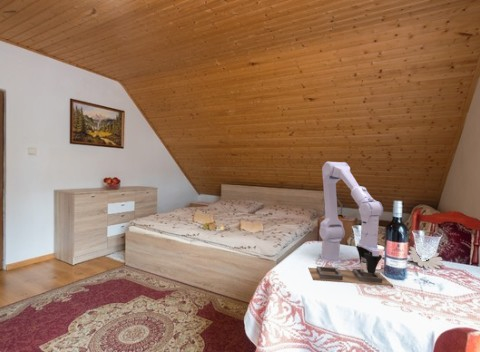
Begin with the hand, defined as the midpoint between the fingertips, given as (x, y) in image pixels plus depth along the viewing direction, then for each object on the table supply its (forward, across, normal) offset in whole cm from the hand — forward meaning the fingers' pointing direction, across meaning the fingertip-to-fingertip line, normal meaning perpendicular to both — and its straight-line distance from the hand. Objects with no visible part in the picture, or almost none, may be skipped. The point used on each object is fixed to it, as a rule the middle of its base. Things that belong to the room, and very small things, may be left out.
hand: (367, 268), depth 104 cm
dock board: (+4, 0, -7) cm, 8 cm away
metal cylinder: (+3, 0, 0) cm, 3 cm away
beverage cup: (+4, -13, +8) cm, 16 cm away
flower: (+4, -23, +24) cm, 34 cm away
